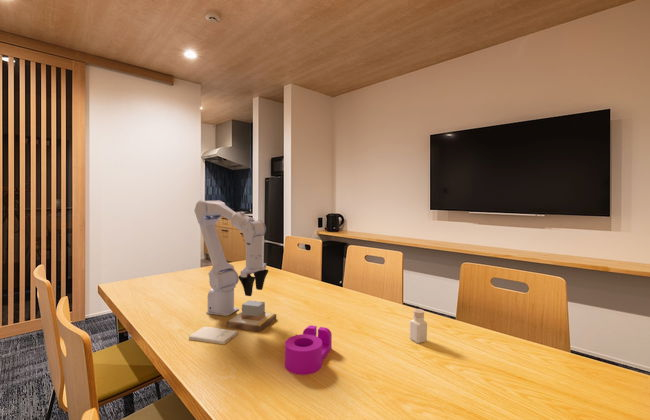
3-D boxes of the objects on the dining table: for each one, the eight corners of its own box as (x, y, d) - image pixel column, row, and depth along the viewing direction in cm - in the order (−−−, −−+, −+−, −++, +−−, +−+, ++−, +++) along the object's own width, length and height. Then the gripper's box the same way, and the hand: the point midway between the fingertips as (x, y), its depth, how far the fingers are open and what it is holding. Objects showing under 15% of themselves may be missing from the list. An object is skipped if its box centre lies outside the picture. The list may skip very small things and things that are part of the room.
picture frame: (226, 326, 110) (226, 321, 110) (245, 314, 121) (245, 309, 121) (260, 331, 106) (260, 325, 106) (276, 318, 118) (276, 313, 117)
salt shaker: (417, 344, 98) (418, 314, 98) (408, 339, 102) (409, 309, 101) (427, 341, 100) (428, 311, 100) (418, 336, 104) (418, 307, 103)
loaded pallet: (241, 318, 112) (241, 304, 112) (248, 313, 117) (248, 300, 116) (259, 320, 110) (259, 306, 110) (265, 316, 115) (265, 302, 114)
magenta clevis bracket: (313, 378, 80) (313, 354, 79) (278, 371, 83) (278, 347, 83) (333, 349, 95) (334, 329, 94) (303, 344, 98) (303, 324, 98)
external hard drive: (204, 330, 108) (237, 335, 105) (188, 341, 100) (224, 346, 97) (204, 325, 108) (238, 330, 105) (188, 336, 100) (224, 340, 97)
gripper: (253, 259, 106) (253, 299, 107) (273, 252, 120) (273, 288, 120) (235, 257, 108) (235, 297, 109) (256, 250, 122) (256, 286, 123)
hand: (254, 292), depth 115 cm, fingers open, 7 cm apart
